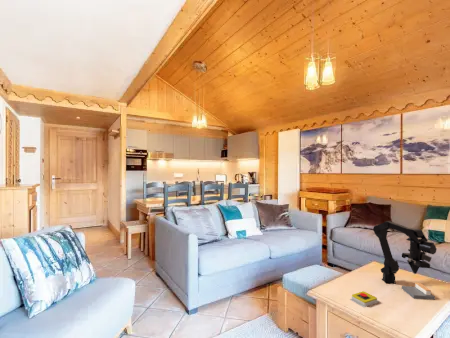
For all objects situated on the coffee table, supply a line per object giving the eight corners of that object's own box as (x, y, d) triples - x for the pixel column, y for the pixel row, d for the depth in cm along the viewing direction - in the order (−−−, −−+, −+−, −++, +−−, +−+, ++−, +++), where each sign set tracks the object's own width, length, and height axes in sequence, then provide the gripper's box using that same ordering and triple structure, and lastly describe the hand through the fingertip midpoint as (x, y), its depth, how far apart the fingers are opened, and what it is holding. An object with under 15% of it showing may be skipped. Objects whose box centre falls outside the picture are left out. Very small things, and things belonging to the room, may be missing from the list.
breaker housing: (413, 298, 153) (413, 295, 153) (401, 288, 165) (401, 285, 165) (434, 299, 152) (434, 296, 152) (421, 290, 163) (421, 287, 163)
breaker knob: (426, 294, 153) (426, 290, 153) (415, 287, 163) (415, 282, 163) (430, 295, 153) (430, 290, 153) (419, 287, 163) (419, 282, 163)
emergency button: (349, 293, 150) (365, 288, 157) (349, 300, 150) (365, 295, 157) (363, 300, 142) (380, 295, 148) (363, 308, 142) (380, 302, 148)
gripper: (440, 254, 148) (439, 281, 148) (419, 245, 166) (418, 268, 166) (420, 253, 149) (419, 279, 149) (401, 244, 168) (400, 267, 168)
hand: (414, 273), depth 158 cm, fingers closed
